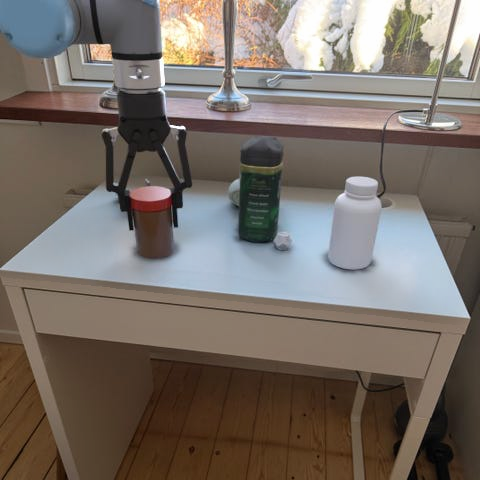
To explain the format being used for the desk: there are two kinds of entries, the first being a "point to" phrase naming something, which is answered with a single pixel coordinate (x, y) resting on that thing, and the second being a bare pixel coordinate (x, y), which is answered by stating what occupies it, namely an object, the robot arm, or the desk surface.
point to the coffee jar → (260, 188)
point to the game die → (282, 240)
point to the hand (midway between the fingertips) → (153, 225)
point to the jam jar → (154, 233)
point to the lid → (150, 198)
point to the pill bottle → (355, 224)
